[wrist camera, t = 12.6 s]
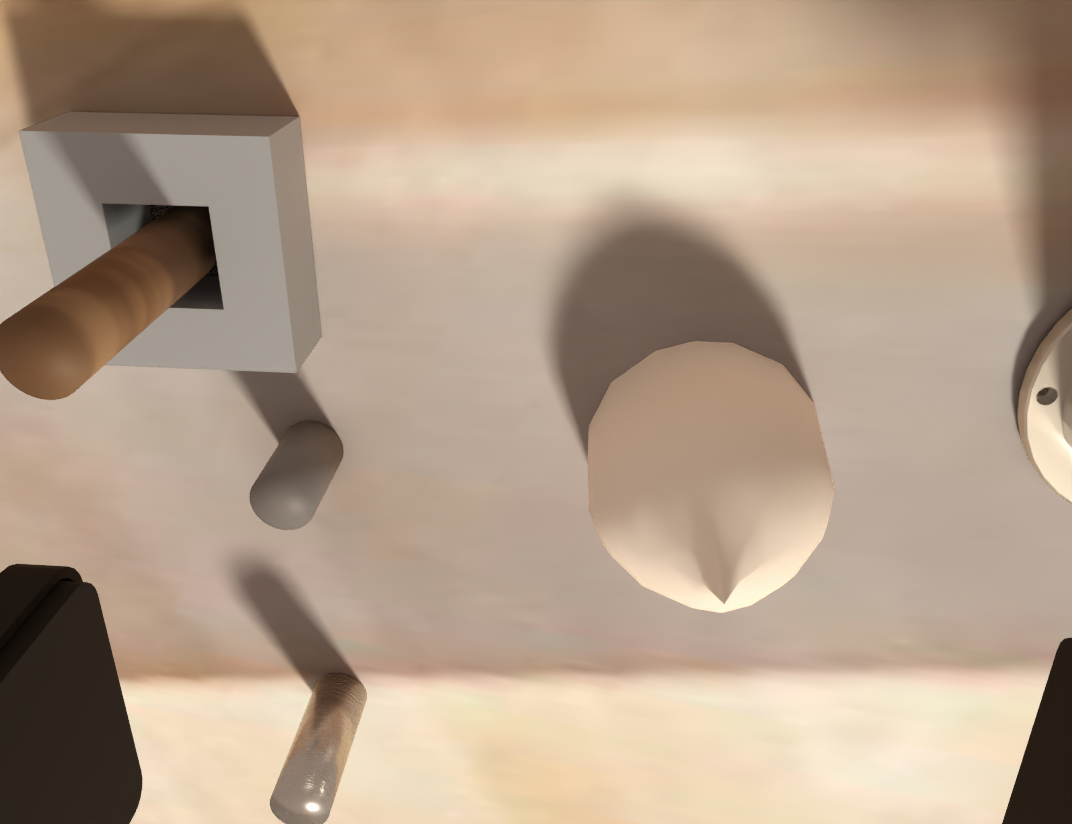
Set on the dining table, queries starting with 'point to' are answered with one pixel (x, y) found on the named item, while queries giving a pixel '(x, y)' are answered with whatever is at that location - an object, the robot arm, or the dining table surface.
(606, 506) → the teardrop
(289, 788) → the medium pin
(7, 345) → the long pin
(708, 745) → the dining table surface
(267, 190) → the hole block
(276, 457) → the short pin
